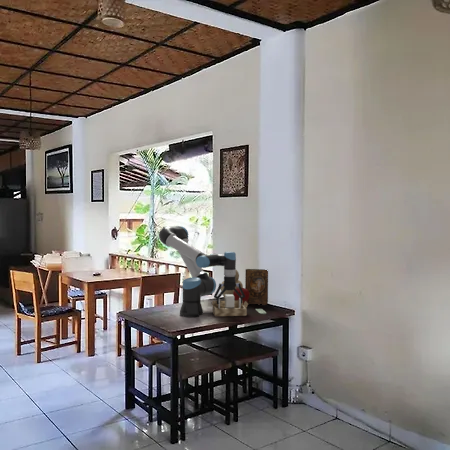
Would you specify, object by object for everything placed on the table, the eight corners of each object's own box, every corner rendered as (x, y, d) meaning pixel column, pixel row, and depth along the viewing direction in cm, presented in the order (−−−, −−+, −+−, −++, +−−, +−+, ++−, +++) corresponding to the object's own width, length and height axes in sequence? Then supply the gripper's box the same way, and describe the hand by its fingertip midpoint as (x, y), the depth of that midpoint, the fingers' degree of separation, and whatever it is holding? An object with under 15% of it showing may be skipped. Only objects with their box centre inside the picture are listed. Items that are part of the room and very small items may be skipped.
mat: (248, 314, 318) (248, 313, 318) (244, 310, 330) (244, 309, 330) (266, 313, 320) (266, 312, 320) (261, 310, 332) (262, 308, 332)
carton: (212, 317, 306) (213, 304, 306) (210, 313, 319) (210, 300, 319) (248, 316, 310) (248, 304, 310) (244, 312, 323) (244, 300, 322)
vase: (247, 301, 361) (247, 261, 360) (229, 304, 351) (229, 262, 350) (233, 298, 374) (234, 259, 373) (215, 300, 364) (216, 260, 363)
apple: (250, 307, 341) (251, 288, 341) (234, 307, 340) (234, 288, 339) (247, 303, 353) (247, 285, 353) (231, 303, 352) (232, 285, 351)
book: (244, 304, 350) (245, 269, 350) (245, 302, 356) (245, 268, 355) (267, 305, 349) (268, 270, 348) (267, 303, 354) (268, 269, 354)
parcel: (226, 315, 310) (226, 296, 309) (224, 312, 317) (224, 294, 316) (234, 314, 311) (234, 296, 310) (232, 312, 318) (232, 294, 317)
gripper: (211, 276, 307) (211, 310, 308) (250, 276, 311) (249, 309, 312) (209, 275, 314) (209, 307, 315) (247, 274, 319) (247, 307, 319)
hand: (229, 308), depth 314 cm, fingers open, 13 cm apart
